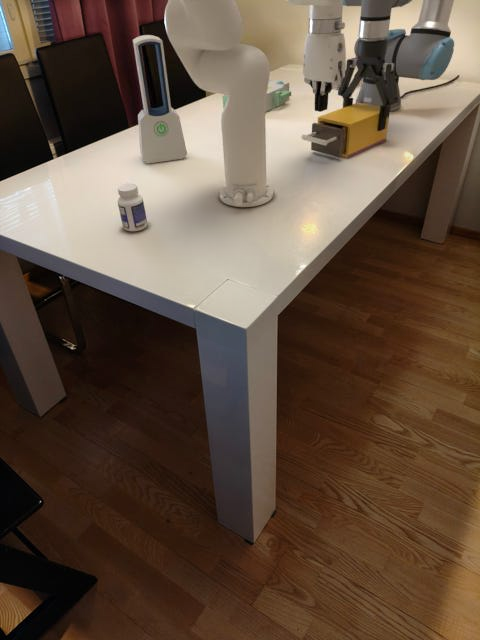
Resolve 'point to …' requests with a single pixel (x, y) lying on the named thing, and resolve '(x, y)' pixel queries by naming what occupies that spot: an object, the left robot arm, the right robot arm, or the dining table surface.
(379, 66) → the right robot arm
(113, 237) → the dining table surface
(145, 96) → the electronic device
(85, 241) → the dining table surface
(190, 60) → the left robot arm
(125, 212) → the pill bottle
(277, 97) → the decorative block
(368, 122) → the yellow open box
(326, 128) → the drawer
